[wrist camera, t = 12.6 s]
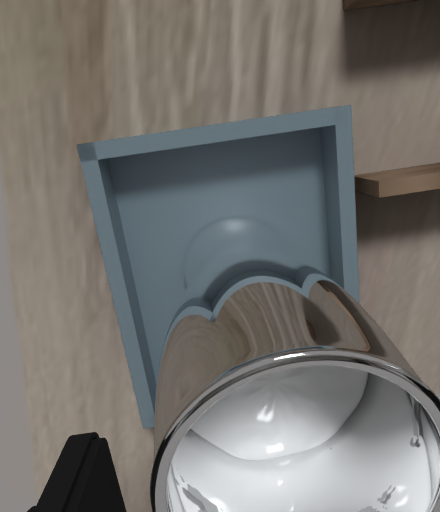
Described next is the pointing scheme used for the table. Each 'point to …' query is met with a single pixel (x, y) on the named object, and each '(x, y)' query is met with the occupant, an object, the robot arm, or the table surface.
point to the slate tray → (215, 211)
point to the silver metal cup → (284, 392)
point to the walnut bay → (398, 178)
